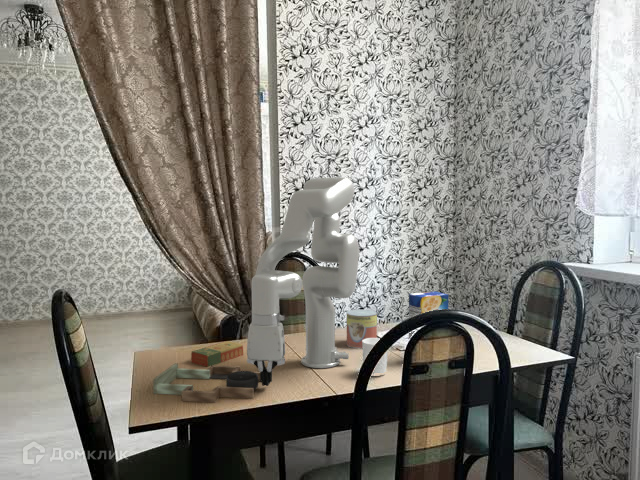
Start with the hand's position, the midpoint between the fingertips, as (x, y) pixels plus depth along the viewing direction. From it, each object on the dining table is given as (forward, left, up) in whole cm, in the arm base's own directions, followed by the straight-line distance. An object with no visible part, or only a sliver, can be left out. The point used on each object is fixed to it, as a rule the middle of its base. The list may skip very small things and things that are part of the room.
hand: (266, 384), depth 140 cm
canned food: (-24, -50, -2) cm, 55 cm away
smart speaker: (+7, 0, -2) cm, 7 cm away
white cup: (-30, -18, -2) cm, 35 cm away
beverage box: (-47, -34, -2) cm, 58 cm away
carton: (+23, -26, -2) cm, 35 cm away
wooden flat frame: (+16, 0, -1) cm, 16 cm away
